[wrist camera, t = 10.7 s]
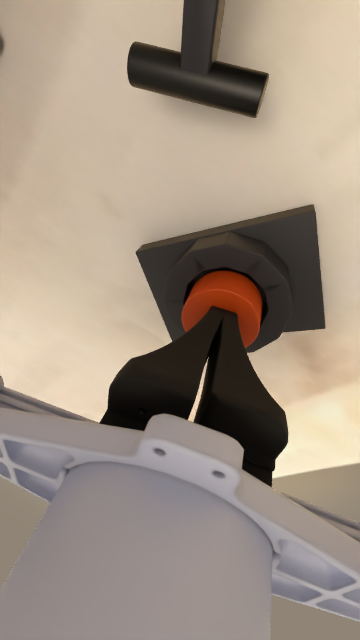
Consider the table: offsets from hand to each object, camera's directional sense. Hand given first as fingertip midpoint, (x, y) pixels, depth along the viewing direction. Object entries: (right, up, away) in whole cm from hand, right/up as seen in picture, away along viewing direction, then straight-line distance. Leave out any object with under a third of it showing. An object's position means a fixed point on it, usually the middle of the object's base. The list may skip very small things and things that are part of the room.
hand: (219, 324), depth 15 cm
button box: (+1, +3, +4) cm, 5 cm away
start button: (+1, +1, +2) cm, 2 cm away
